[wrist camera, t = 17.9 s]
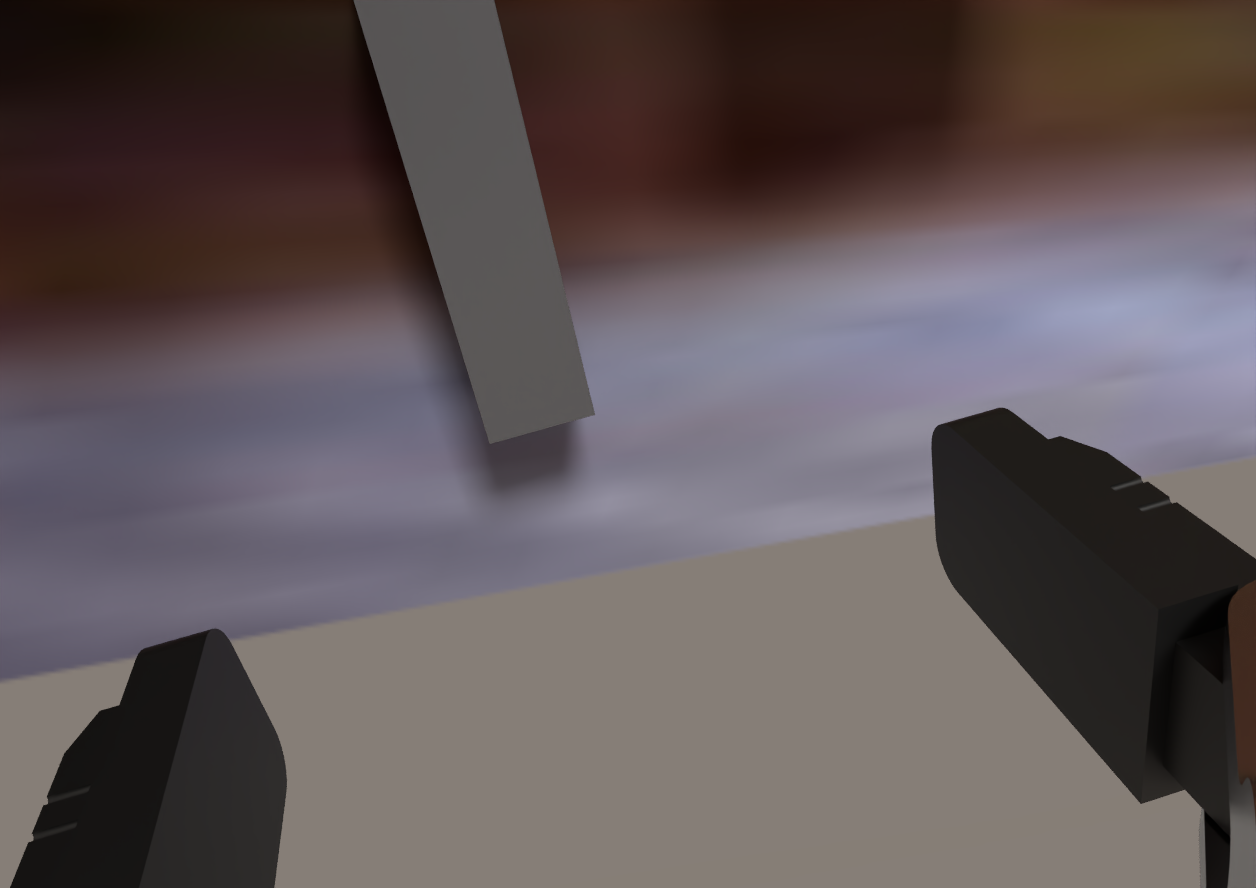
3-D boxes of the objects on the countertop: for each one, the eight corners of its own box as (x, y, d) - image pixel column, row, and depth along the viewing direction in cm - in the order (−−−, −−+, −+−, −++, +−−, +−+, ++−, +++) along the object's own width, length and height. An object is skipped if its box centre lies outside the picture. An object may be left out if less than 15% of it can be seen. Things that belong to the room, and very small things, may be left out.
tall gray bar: (350, -35, 25) (343, -32, 21) (466, -61, 25) (478, -63, 22) (478, 387, 30) (489, 444, 27) (571, 362, 31) (595, 414, 27)
